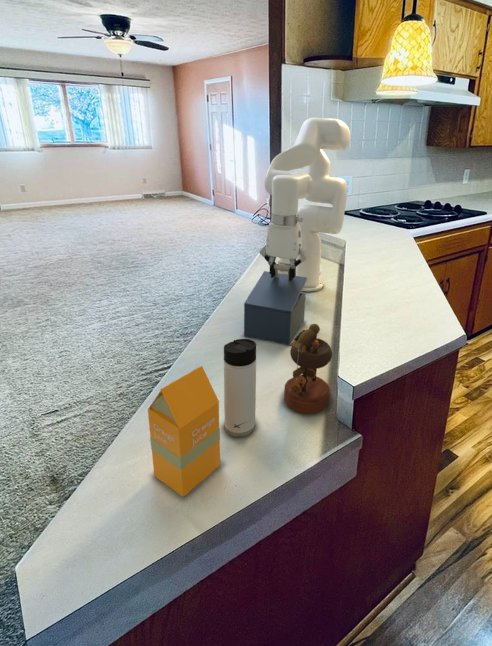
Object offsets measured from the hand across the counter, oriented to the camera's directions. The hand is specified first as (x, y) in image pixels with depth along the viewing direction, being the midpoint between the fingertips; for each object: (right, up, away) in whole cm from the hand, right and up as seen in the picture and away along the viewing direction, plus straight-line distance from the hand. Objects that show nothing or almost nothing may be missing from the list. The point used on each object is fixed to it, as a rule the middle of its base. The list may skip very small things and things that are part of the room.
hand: (282, 277), depth 125 cm
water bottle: (0, -6, +27) cm, 28 cm away
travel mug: (-7, -32, -40) cm, 52 cm away
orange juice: (-14, -36, -51) cm, 64 cm away
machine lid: (-1, -4, -3) cm, 6 cm away
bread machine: (-2, -16, +1) cm, 16 cm away
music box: (+7, -29, -29) cm, 42 cm away
